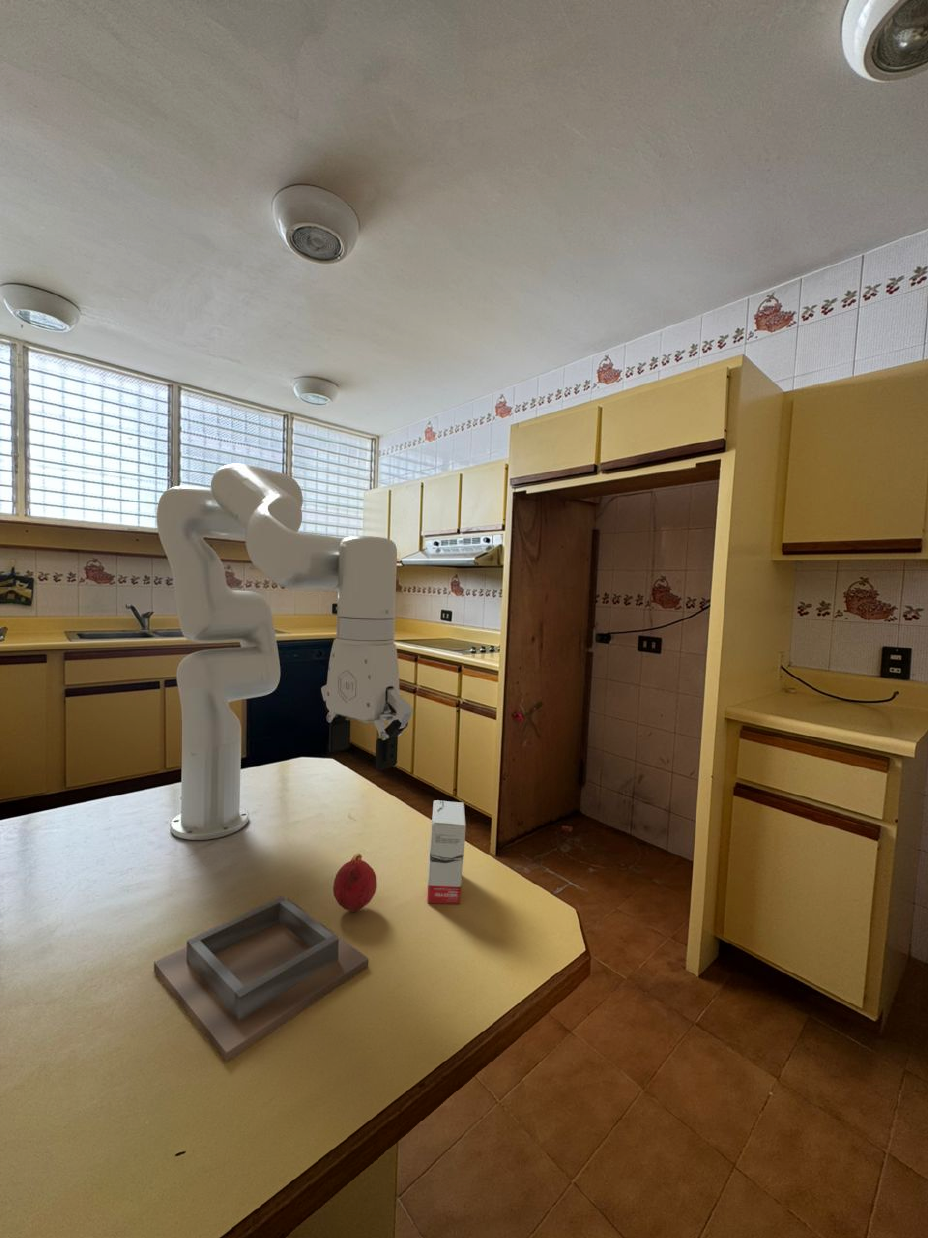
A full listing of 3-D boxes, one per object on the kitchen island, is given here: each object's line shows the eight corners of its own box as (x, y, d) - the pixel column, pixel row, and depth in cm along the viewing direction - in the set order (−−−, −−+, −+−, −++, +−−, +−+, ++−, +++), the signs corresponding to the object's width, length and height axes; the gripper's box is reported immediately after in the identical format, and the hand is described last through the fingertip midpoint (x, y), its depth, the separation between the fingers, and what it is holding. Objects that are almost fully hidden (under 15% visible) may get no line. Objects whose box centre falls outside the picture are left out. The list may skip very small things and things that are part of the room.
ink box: (461, 905, 75) (466, 824, 75) (426, 904, 75) (430, 823, 74) (460, 872, 84) (464, 799, 83) (428, 871, 84) (432, 798, 83)
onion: (365, 928, 69) (368, 869, 69) (324, 920, 70) (326, 862, 70) (381, 902, 75) (383, 848, 74) (343, 895, 76) (345, 841, 76)
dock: (153, 970, 60) (154, 941, 60) (287, 905, 73) (288, 880, 73) (226, 1062, 49) (227, 1027, 49) (368, 967, 62) (369, 938, 62)
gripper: (303, 626, 73) (300, 749, 74) (389, 638, 62) (384, 782, 63) (347, 625, 78) (344, 738, 79) (433, 636, 67) (427, 767, 68)
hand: (361, 758), depth 71 cm, fingers open, 9 cm apart
